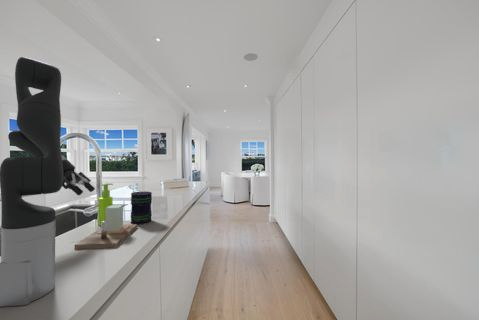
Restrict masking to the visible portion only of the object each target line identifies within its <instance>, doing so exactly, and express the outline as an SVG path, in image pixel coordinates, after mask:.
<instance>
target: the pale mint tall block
mask: <svg viewBox="0 0 479 320" xmlns="http://www.w3.org/2000/svg"><path fill="white" fill-rule="evenodd" d="M106 221H107V231H119V230H120V229H121V228H122V227H123V225H124V204H118V205H117V204H114V205H111V206H109V207H107V208H106Z"/></svg>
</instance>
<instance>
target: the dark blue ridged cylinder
mask: <svg viewBox="0 0 479 320" xmlns="http://www.w3.org/2000/svg"><path fill="white" fill-rule="evenodd" d="M130 195H131V197H130V205H131V211H130V220H131V221H130V224H137V226H139V225H145V224H146V225H147V224H149V223H151V222H152V202H153V197H152V195H153V194H152V191H135V192H131V193H130Z"/></svg>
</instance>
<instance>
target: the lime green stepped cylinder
mask: <svg viewBox="0 0 479 320" xmlns="http://www.w3.org/2000/svg"><path fill="white" fill-rule="evenodd" d="M111 185H112V186H113V185H114V183H107V182H106V183H103V184H102V185H101V187H102V186H103V190H101V197H98V206H97V207H98V209H97V210H98V211H97V212H98V213H97V214H98V217H97V219H98V220H97V223H98V224H97V225H98V226H99V227H101V221H106V208H107V207H109V206H111V205H113V201H114V200H113V199H114V198H113V196H110V194H111V192H110V191H111V190H110V189H109V186H111Z"/></svg>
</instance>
